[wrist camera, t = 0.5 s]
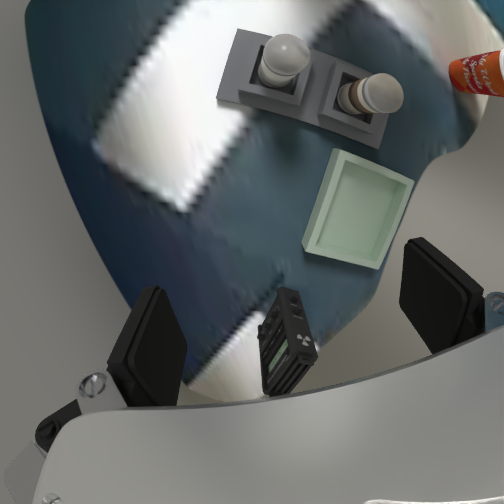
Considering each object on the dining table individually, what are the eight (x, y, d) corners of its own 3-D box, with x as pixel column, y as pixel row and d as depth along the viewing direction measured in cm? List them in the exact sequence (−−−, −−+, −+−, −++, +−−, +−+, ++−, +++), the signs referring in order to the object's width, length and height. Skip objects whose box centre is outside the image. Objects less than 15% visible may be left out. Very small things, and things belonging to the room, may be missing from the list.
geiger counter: (276, 279, 42) (291, 350, 28) (303, 287, 43) (326, 358, 29) (250, 329, 46) (254, 402, 32) (275, 335, 47) (285, 407, 33)
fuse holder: (237, 31, 27) (237, 22, 24) (393, 86, 30) (405, 84, 27) (216, 98, 31) (213, 95, 28) (375, 149, 34) (387, 152, 31)
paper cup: (438, 54, 27) (499, 43, 14) (467, 55, 26) (525, 50, 13) (451, 100, 30) (515, 104, 17) (478, 98, 29) (538, 104, 16)
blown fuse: (339, 79, 29) (372, 66, 20) (367, 91, 30) (407, 84, 21) (331, 107, 31) (363, 102, 22) (359, 119, 31) (398, 119, 22)
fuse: (262, 54, 28) (270, 28, 19) (295, 64, 28) (314, 42, 19) (254, 83, 29) (258, 66, 20) (286, 92, 30) (303, 79, 21)
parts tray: (333, 147, 34) (340, 149, 31) (404, 176, 36) (414, 181, 33) (301, 242, 40) (305, 251, 37) (370, 260, 41) (378, 269, 38)
